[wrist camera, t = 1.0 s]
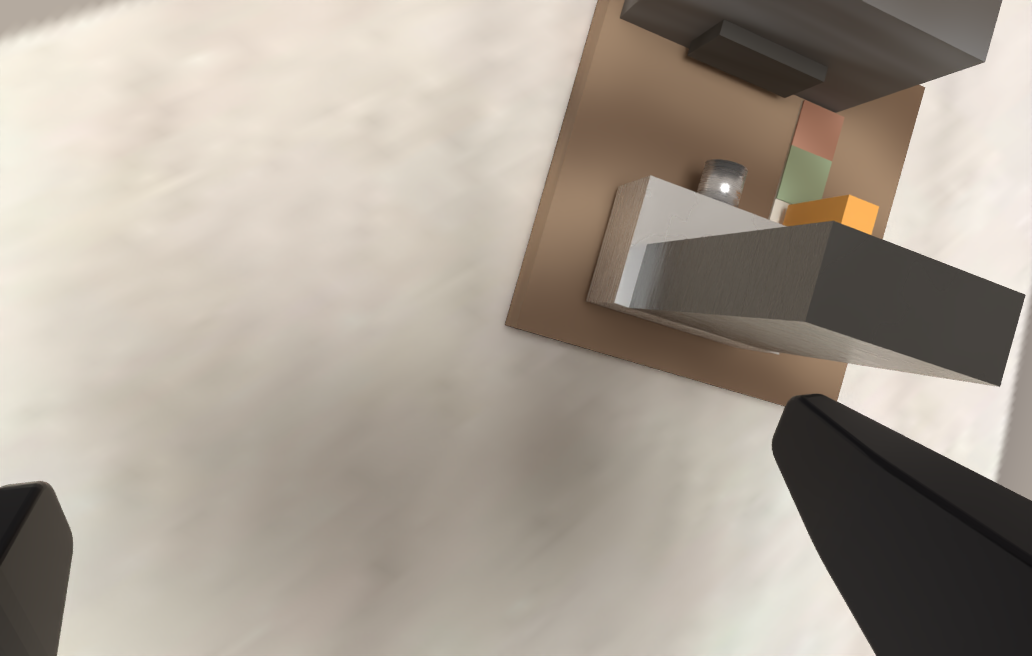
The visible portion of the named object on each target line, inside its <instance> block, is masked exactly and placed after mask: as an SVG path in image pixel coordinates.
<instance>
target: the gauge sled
mask: <svg viewBox="0 0 1032 656" xmlns="http://www.w3.org/2000/svg"><path fill="white" fill-rule="evenodd" d="M747 173H748V169H747V168H746V167H744V166H743V165H741V164H738V163H736V162H732V161H728V160H722V159H711V160H707V161H706V162H705V165H704V168H703V172H702V175H701V179H700V183H699V186H698V190H697V193H696V192H694V191H691V190H688V189H686V188H683V187H680V186H678V185H675V184H672V183H670V182H667V181H664V180H662V179H659V178H656V177H654V176H651V175H650V176H647V177H644V178H642V179H639V180H636V181H633V182H630V183H627V184H624V185H621V186H619V187H618V190H617V194H616V197H615V201H614V204H613V208H612V211H611V215H610V218H609V222H608V225H607V229H606V232H605V236H604V239H603V243H602V246H601V250H600V253H599V257H598V260H597V264H596V267H595V271H594V274H593V278H592V281H591V285H590V288H589V292H588V295H587V299H586V301H587V302H591V303H594V304H597V305H600V306H603V307H607V308H610V309H613V310H616V311H620V312H623V313H626V314H629V315H632V316H636V317H639V318H642V319H645V320H649V321H652V322H655V323H658V324H661V325H665V326H668V327H671V328H674V329H678V330H681V331H684V332H687V333H690V334H694V335H697V336H700V337H703V338H707V339H710V340H713V341H716V342H719V343H723V344H726V345H729V346H732V347H735V348H741V349H747V350H753V351H759V352H766V353H772V354H778V355H779V353H785V354H791V355H798V356H804V357H811V358H817V359H824V360H830V361H837V362H843V363H850V364H856V365H862V366H869V367H875V368H882V369H888V370H895V371H901V372H908V373H914V374H921V375H927V376H934V377H940V378H946V379H953V380H959V381H966V382H972V383H979V384H985V385H992V386H998V387H1000V385H1001V381H1002V378H1003V374H1004V370H1005V367H1006V363H1007V360H1008V356H1009V352H1010V349H1011V345H1012V342H1013V338H1014V334H1015V331H1016V327H1017V324H1018V320H1019V316H1020V313H1021V309H1022V306H1023V302H1024V298H1025V294H1022V293H1020V292H1017V291H1014V290H1012V289H1009V288H1007V287H1004V286H1002V285H999V284H996V283H994V282H991V281H989V280H986V279H983V278H981V277H978V276H976V275H973V274H970V273H968V272H965V271H963V270H960V269H958V268H955V267H952V266H950V265H947V264H945V263H942V262H939V261H937V260H934V259H932V258H929V257H926V256H924V255H921V254H919V253H916V252H914V251H911V250H908V249H906V248H903V247H901V246H898V245H895V244H893V243H890V242H888V241H885V240H882V239H880V238H877V237H875V236H872V235H870V234H867V233H864V232H862V231H859V230H857V229H854V228H851V227H849V226H846V225H844V224H841V223H838V222H836V221H826V222H818V223H810V224H803V225H795V226H784V225H782V224H779V223H776V222H774V221H771V220H768V219H766V218H763V217H760V216H758V215H755V214H752V213H750V212H747V211H744V210H742V209H739V208H738V205H739V201H740V198H741V194H742V191H743V187H744V184H745V180H746V176H747Z"/></svg>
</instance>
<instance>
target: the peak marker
mask: <svg viewBox="0 0 1032 656" xmlns="http://www.w3.org/2000/svg"><path fill="white" fill-rule="evenodd" d="M878 209H879V206H877V205H874V204H872V203H869V202H867V201H864V200H862V199H859V198H857V197H854V196H852V195H843V196H838V197H832V198H826V199H820V200H815V201H809V202H803V203H797V204H791V205H788V207H787V211H786V214H785V218H784V222H783V225H784V226H795V225H803V224H810V223H818V222H826V221H836V222H838V223H841V224H844V225H846V226H849V227H851V228H854V229H857V230H859V231H862V232H864V233H867V234H870V235H871V234H872V231H873V227H874V224H875V220H876V217H877V213H878Z"/></svg>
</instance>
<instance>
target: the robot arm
mask: <svg viewBox="0 0 1032 656" xmlns="http://www.w3.org/2000/svg"><path fill="white" fill-rule="evenodd" d="M772 451H773V455H774V458H775V460H776V463H777V465H778V467H779V469H780V471H781V474H782V476H783V478H784V480H785V483H786V485H787V487H788V489H789V491H790V494H791V496H792V498H793V500H794V502H795V505H796V507H797V509H798V511H799V514H800V516H801V518H802V520H803V522H804V525H805V527H806V529H807V531H808V534H809V536H810V538H811V540H812V542H813V544H814V546H815V548H816V550H817V552H818V554H819V556H820V558H821V560H822V562H823V564H824V565H825V567H826V569H827V571H828V573H829V574H830V576H831V578H832V580H833V581H834V583H835V585H836V586H837V588H838V590H839V592H840V593H841V595H842V597H843V599H844V600H845V602H846V604H847V606H848V607H849V609H850V611H851V613H852V614H853V616H854V618H855V620H856V621H857V623H858V625H859V627H860V628H861V630H862V632H863V634H864V635H865V637H866V639H867V641H868V642H869V644H870V646H871V648H872V649H873V651H874V653H875V655H876V656H1032V501H1031V500H1029V499H1027V498H1025V497H1023V496H1021V495H1019V494H1017V493H1015V492H1013V491H1011V490H1009V489H1007V488H1005V487H1003V486H1001V485H999V484H998V483H996V482H994V481H992V480H990V479H988V478H986V477H984V476H982V475H980V474H978V473H976V472H974V471H972V470H970V469H968V468H966V467H964V466H962V465H960V464H958V463H956V462H954V461H952V460H951V459H949V458H947V457H945V456H943V455H941V454H939V453H937V452H935V451H933V450H931V449H929V448H927V447H925V446H923V445H921V444H919V443H917V442H915V441H913V440H911V439H909V438H907V437H905V436H904V435H902V434H900V433H898V432H896V431H894V430H892V429H890V428H888V427H886V426H884V425H882V424H880V423H878V422H876V421H874V420H872V419H870V418H868V417H866V416H864V415H862V414H860V413H858V412H857V411H855V410H853V409H851V408H849V407H847V406H845V405H843V404H841V403H839V402H837V401H835V400H833V399H831V398H829V397H827V396H825V395H823V394H816V393H815V394H806V395H797V396H794V397H792V398H791V399H790V400H789V401H788V402H787V404H786V406H785V408H784V411H783V413H782V416H781V418H780V421H779V423H778V426H777V428H776V430H775V433H774V435H773V438H772ZM72 554H73V537H72V532H71V529H70V527H69V524H68V522H67V520H66V517H65V515H64V513H63V510H62V508H61V506H60V503H59V501H58V499H57V496H56V494H55V492H54V490H53V488H52V486H51V485H50V484H48V483H47V482H43V481H36V482H27V483H18V484H9V485H5V486H2V487H0V656H57V652H58V645H59V639H60V632H61V626H62V619H63V613H64V606H65V600H66V593H67V587H68V581H69V574H70V568H71V561H72Z"/></svg>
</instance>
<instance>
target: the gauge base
mask: <svg viewBox="0 0 1032 656" xmlns="http://www.w3.org/2000/svg"><path fill="white" fill-rule="evenodd" d="M1001 3H1002V0H598V2H597V5H596V9H595V12H594V16H593V19H592V23H591V26H590V30H589V33H588V37H587V40H586V44H585V47H584V51H583V54H582V58H581V61H580V65H579V68H578V72H577V75H576V79H575V82H574V86H573V89H572V93H571V96H570V99H569V103H568V106H567V110H566V113H565V117H564V120H563V124H562V127H561V131H560V134H559V138H558V141H557V145H556V148H555V152H554V155H553V159H552V162H551V166H550V169H549V173H548V176H547V180H546V183H545V187H544V190H543V194H542V197H541V201H540V204H539V207H538V211H537V214H536V218H535V221H534V225H533V228H532V232H531V235H530V239H529V242H528V246H527V249H526V253H525V256H524V260H523V263H522V267H521V270H520V274H519V277H518V281H517V284H516V288H515V291H514V295H513V298H512V302H511V305H510V309H509V312H508V315H507V319H506V322H505V325H507V326H510V327H514V328H517V329H521V330H524V331H528V332H531V333H535V334H538V335H541V336H545V337H548V338H552V339H555V340H559V341H562V342H566V343H569V344H572V345H576V346H579V347H583V348H586V349H590V350H593V351H597V352H600V353H603V354H607V355H610V356H614V357H617V358H621V359H624V360H628V361H631V362H634V363H638V364H641V365H645V366H648V367H652V368H655V369H659V370H662V371H666V372H669V373H672V374H676V375H679V376H683V377H686V378H690V379H693V380H697V381H700V382H703V383H707V384H710V385H714V386H717V387H721V388H724V389H728V390H731V391H734V392H738V393H741V394H745V395H748V396H752V397H755V398H759V399H762V400H765V401H769V402H772V403H776V404H779V405H783V406H786V404H787V402H788V401H789V400H790V399H791V398H792V397H794V396H797V395H806V394H815V393H816V394H823V395H825V396H827V397H829V398H831V399H833V400H835V401H837V399H838V396H839V392H840V389H841V385H842V381H843V378H844V374H845V371H846V367H847V364H848V363H843V362H837V361H830V360H824V359H817V358H811V357H804V356H798V355H791V354H785V353H779V355H778V354H772V353H766V352H759V351H753V350H747V349H741V348H735V347H732V346H729V345H726V344H723V343H719V342H716V341H713V340H710V339H707V338H703V337H700V336H697V335H694V334H690V333H687V332H684V331H681V330H678V329H674V328H671V327H668V326H665V325H661V324H658V323H655V322H652V321H649V320H645V319H642V318H639V317H636V316H632V315H629V314H626V313H623V312H620V311H616V310H613V309H610V308H607V307H603V306H600V305H597V304H594V303H591V302H587V301H586V299H587V295H588V292H589V288H590V285H591V281H592V278H593V274H594V271H595V267H596V264H597V260H598V257H599V253H600V250H601V246H602V243H603V239H604V236H605V232H606V229H607V225H608V222H609V218H610V215H611V211H612V208H613V204H614V201H615V197H616V194H617V190H618V187H619V186H621V185H624V184H627V183H630V182H633V181H636V180H639V179H642V178H644V177H647V176H650V175H651V176H654V177H656V178H659V179H662V180H664V181H667V182H670V183H672V184H675V185H678V186H680V187H683V188H686V189H688V190H691V191H694V192H696V193H697V190H698V186H699V183H700V179H701V175H702V172H703V168H704V165H705V162H706V161H707V160H711V159H722V160H728V161H732V162H736V163H738V164H741V165H743V166H744V167H746V168H747V169H748V173H747V176H746V180H745V184H744V187H743V191H742V194H741V198H740V201H739V205H738V208H739V209H742V210H744V211H747V212H750V213H752V214H755V215H758V216H760V217H763V218H766V219H768V220H771V221H774V222H776V223H779V224H782V225H783V222H784V218H785V214H786V211H787V207H788V205H791V204H797V203H803V202H809V201H815V200H820V199H826V198H832V197H838V196H843V195H852V196H854V197H857V198H859V199H862V200H864V201H867V202H869V203H872V204H874V205H877V206H879V209H878V213H877V217H876V220H875V224H874V227H873V231H872V234H871V235H872V236H875V237H877V238H880V239H883V236H884V232H885V228H886V225H887V221H888V218H889V214H890V211H891V207H892V204H893V200H894V196H895V193H896V189H897V186H898V182H899V179H900V175H901V171H902V168H903V164H904V161H905V157H906V154H907V150H908V147H909V143H910V139H911V136H912V132H913V129H914V125H915V122H916V118H917V115H918V111H919V107H920V104H921V100H922V97H923V93H924V90H925V87H923V86H921V85H919V84H922V83H925V82H928V81H931V80H934V79H937V78H940V77H943V76H946V75H948V74H951V73H954V72H957V71H960V70H963V69H966V68H969V67H972V66H975V65H978V64H981V63H984V62H985V60H986V57H987V53H988V49H989V46H990V42H991V39H992V35H993V32H994V28H995V24H996V21H997V17H998V14H999V10H1000V7H1001Z"/></svg>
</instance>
